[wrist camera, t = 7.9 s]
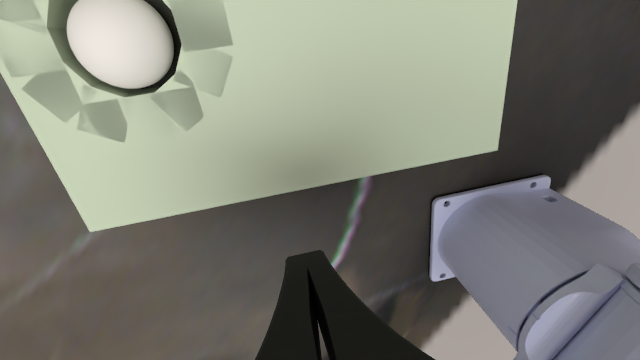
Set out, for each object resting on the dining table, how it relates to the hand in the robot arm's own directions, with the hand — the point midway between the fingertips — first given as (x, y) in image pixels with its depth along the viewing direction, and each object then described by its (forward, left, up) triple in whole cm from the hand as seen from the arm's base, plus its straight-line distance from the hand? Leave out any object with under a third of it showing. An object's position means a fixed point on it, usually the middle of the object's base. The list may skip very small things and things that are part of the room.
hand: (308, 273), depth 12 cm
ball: (+6, -9, -7) cm, 13 cm away
